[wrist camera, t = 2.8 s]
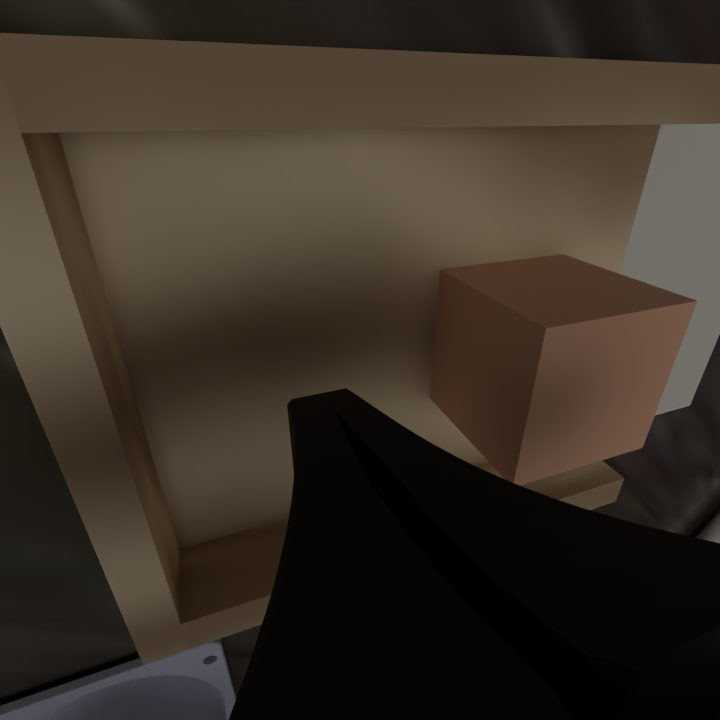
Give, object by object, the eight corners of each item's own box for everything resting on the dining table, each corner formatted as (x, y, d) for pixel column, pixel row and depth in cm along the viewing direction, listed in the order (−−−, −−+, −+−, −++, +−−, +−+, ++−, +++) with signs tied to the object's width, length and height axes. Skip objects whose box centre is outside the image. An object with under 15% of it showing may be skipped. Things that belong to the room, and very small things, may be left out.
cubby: (561, 454, 20) (615, 501, 18) (147, 574, 15) (143, 665, 12) (662, 76, 13) (774, 67, 11) (-36, 55, 8) (-127, 27, 6)
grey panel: (681, 401, 22) (690, 405, 21) (566, 432, 20) (573, 438, 19) (794, 120, 16) (808, 120, 16) (649, 122, 14) (661, 122, 14)
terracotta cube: (537, 374, 17) (642, 447, 13) (429, 398, 15) (512, 487, 12) (562, 254, 15) (697, 301, 11) (440, 268, 13) (546, 328, 9)
